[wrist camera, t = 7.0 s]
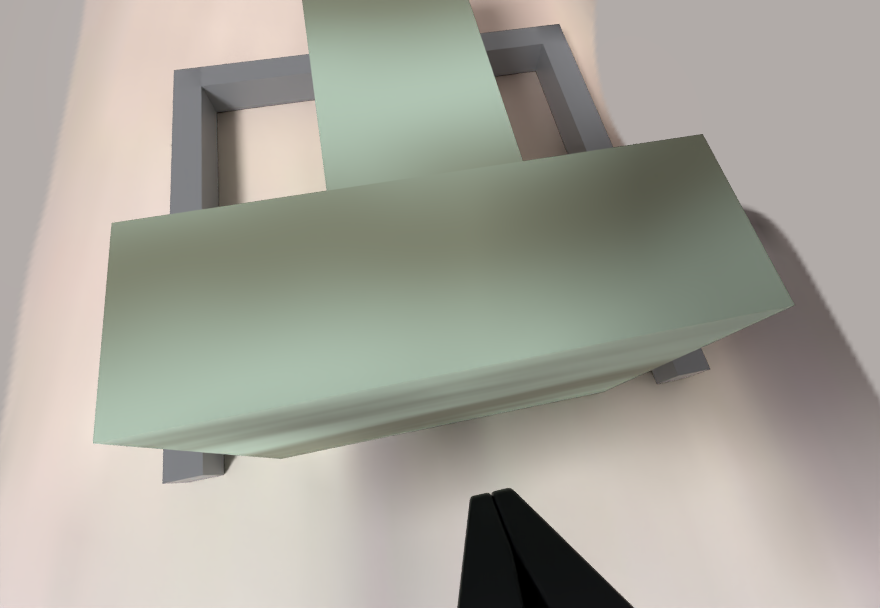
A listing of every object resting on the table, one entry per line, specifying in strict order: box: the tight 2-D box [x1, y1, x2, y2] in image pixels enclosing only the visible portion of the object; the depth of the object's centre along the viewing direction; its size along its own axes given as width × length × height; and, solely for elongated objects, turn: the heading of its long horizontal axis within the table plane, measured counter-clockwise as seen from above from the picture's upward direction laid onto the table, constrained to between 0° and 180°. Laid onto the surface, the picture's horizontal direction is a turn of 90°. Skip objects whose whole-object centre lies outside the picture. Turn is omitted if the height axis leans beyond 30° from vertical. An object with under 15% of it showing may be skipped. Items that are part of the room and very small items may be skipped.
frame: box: [163, 24, 710, 484], centre depth 18 cm, size 18×18×2 cm
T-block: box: [93, 0, 794, 459], centre depth 14 cm, size 14×12×9 cm
